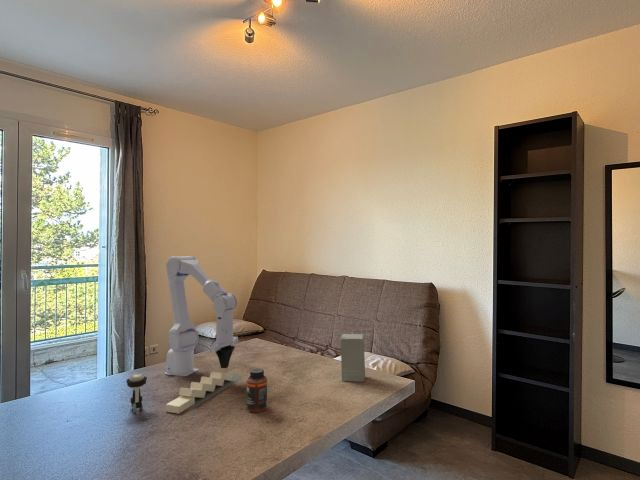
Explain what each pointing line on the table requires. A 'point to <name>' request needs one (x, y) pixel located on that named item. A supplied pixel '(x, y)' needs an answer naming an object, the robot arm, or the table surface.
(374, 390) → the table surface
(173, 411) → the domino
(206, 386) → the domino
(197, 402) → the mat
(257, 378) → the supplement bottle
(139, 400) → the push button
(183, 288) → the robot arm
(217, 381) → the domino
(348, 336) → the skincare box
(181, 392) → the domino
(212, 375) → the domino
